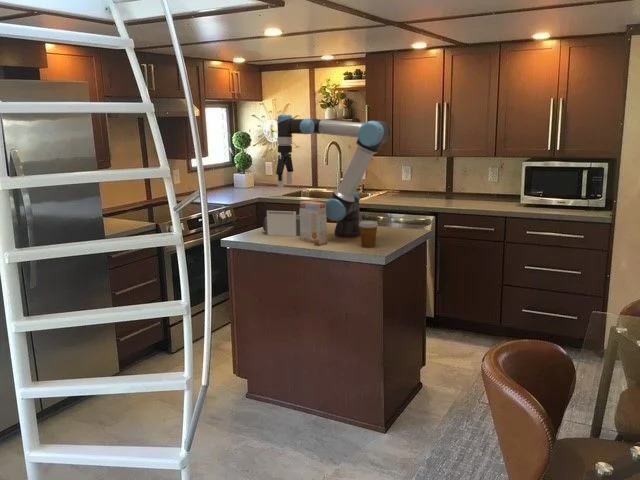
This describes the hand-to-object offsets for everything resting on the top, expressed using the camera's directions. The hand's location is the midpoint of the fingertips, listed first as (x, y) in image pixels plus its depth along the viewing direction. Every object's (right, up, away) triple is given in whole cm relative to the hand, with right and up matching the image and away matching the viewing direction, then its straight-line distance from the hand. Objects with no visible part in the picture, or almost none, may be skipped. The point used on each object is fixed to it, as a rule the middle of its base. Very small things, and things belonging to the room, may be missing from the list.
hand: (285, 185), depth 310 cm
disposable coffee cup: (+42, -32, -22) cm, 58 cm away
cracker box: (+15, -31, -13) cm, 36 cm away
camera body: (0, -26, +7) cm, 27 cm away
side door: (-2, -27, +1) cm, 27 cm away
